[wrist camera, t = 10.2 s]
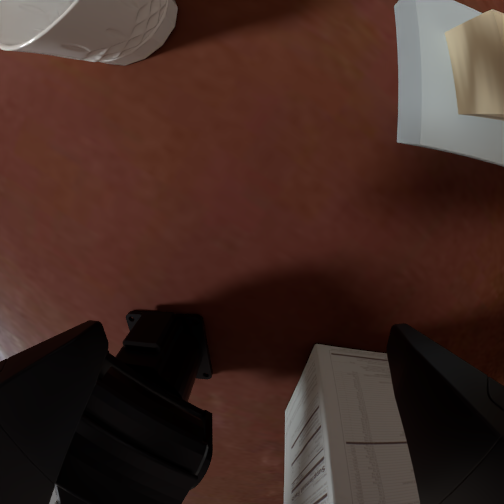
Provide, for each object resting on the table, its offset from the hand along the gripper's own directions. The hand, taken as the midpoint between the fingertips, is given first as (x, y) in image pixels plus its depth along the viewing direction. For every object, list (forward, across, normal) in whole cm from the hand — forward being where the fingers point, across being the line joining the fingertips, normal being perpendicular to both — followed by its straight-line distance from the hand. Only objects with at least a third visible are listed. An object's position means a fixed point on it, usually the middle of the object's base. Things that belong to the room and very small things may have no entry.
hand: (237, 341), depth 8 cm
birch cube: (+8, -14, -10) cm, 19 cm away
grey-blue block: (+12, -14, -10) cm, 21 cm away
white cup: (+12, +8, -15) cm, 21 cm away
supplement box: (+12, -7, +15) cm, 21 cm away
